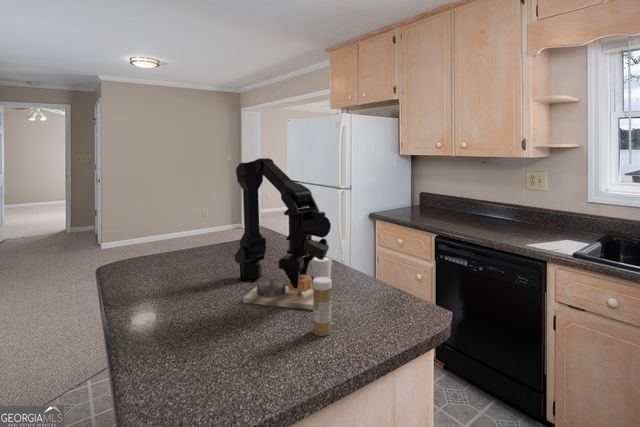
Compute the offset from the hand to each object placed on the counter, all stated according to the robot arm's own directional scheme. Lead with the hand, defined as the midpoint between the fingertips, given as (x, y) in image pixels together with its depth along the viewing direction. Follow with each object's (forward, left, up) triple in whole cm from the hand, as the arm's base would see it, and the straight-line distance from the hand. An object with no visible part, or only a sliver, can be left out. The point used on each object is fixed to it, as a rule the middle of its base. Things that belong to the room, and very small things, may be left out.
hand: (299, 283), depth 111 cm
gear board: (-4, 0, -5) cm, 7 cm away
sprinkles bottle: (+12, -18, -5) cm, 22 cm away
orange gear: (0, 0, -1) cm, 1 cm away
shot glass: (+2, +20, -5) cm, 21 cm away
